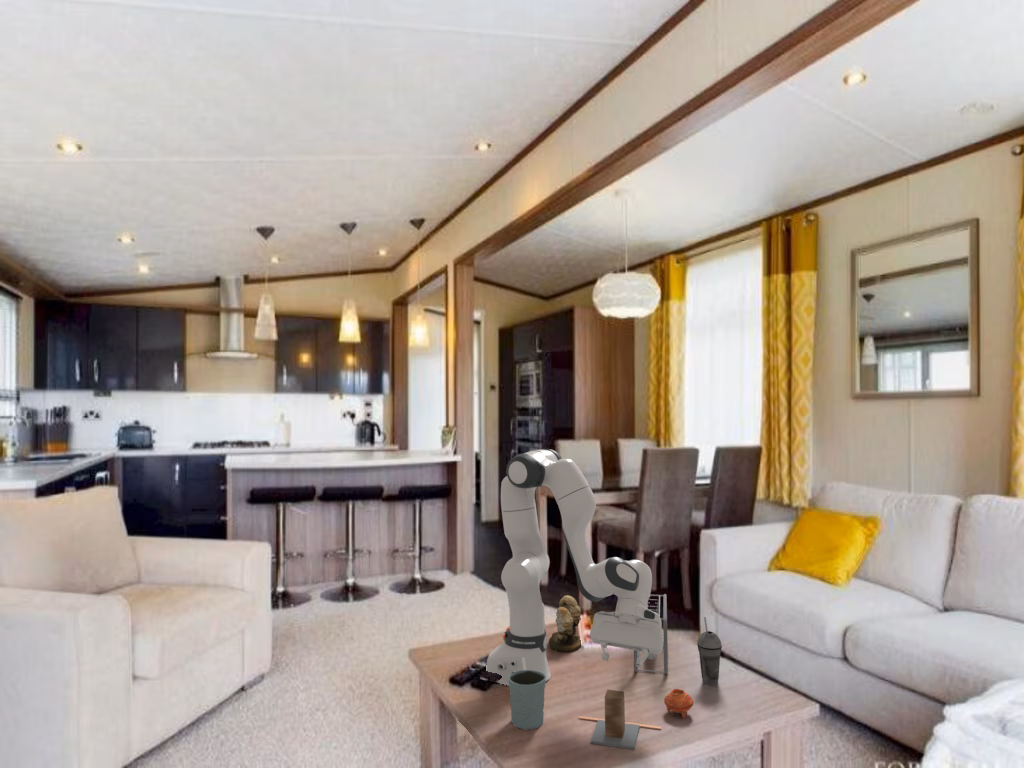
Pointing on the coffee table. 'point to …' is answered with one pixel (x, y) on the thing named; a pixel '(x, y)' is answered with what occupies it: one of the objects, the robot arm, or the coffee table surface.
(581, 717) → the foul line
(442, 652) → the coffee table surface
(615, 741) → the mat
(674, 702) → the pot
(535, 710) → the teal tumbler
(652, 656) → the newton's cradle
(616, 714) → the wooden square post
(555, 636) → the brown lumpy statue
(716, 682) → the beverage cup
